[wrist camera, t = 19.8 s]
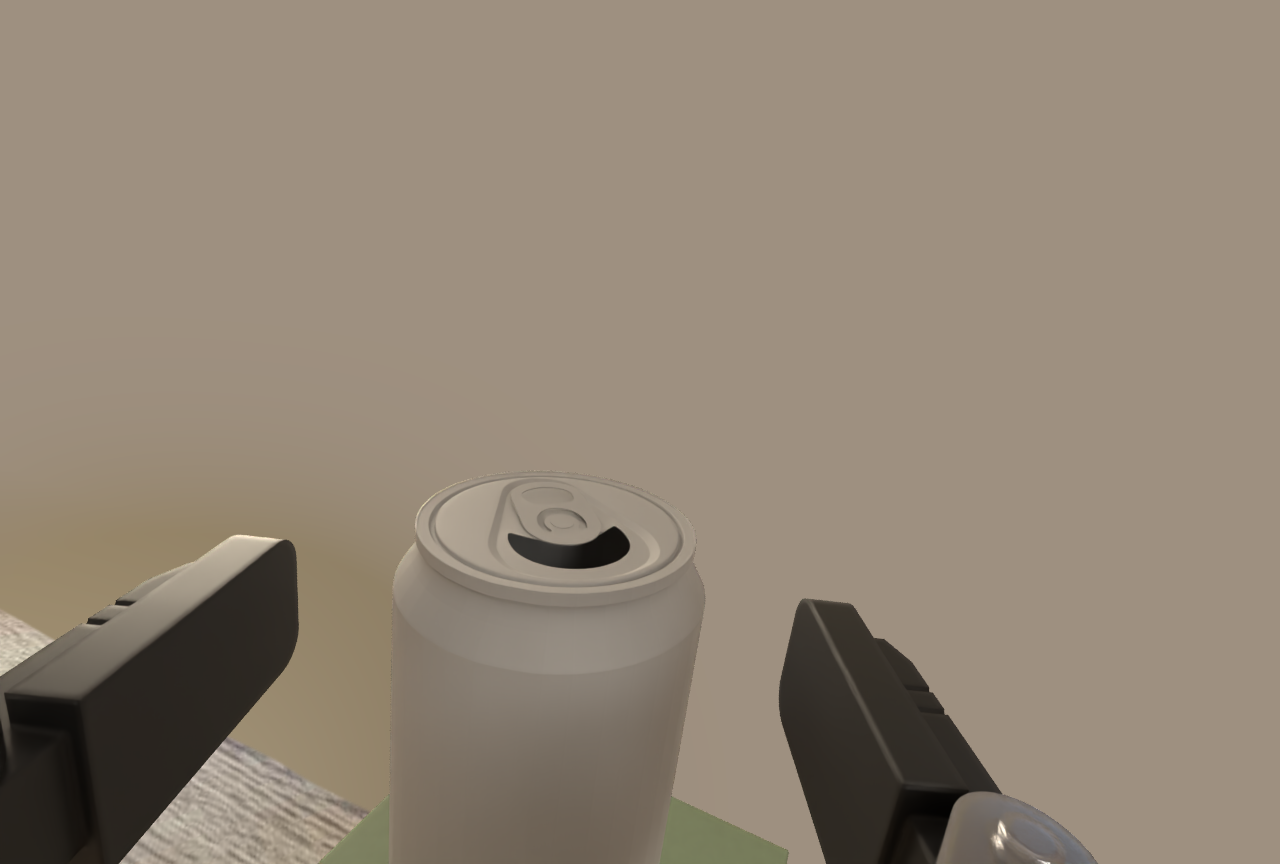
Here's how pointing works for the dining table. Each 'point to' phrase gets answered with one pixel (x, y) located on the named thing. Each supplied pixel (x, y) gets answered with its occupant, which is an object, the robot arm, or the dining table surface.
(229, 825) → the dining table surface
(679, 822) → the stand
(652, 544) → the beverage can
